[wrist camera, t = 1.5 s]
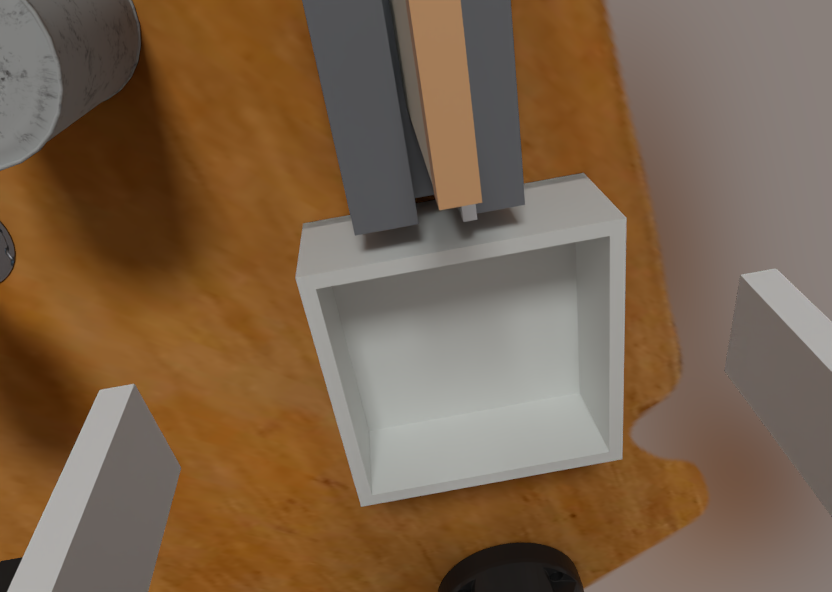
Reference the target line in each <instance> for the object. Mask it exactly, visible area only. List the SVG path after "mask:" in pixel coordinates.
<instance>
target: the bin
mask: <svg viewBox="0 0 832 592" xmlns="http://www.w3.org/2000/svg"><path fill="white" fill-rule="evenodd" d="M524 197H525V205H522V206H516V207H511V208H505V209H500V210H494V211H489V212H483V213H478V214H477V220H472V221H466V222H463V219H462V217H461V214H460V212H459V209H458V207H456V208H450V209H445V210H439V208H438V205H437V202H436V200H431V201H425V202H420V203H415V204H416V210H417V216H418V222H419V224H417V225H411V226H406V227H400V228H395V229H389V230H384V231H378V232H372V233H367V234H361V235H356V236H355V234H354V229H353V225H352V220H351V216H350V215H348V216H342V217H337V218H331V219H326V220H320V221H315V222H309V223H304V224H303V229H302V236H301V243H300V250H299V256H298V263H297V270H296V277H295V278H296V282H297V285H298V289H299V292H300V295H301V299H302V302H303V306H304V309H305V313H306V316H307V320H308V323H309V327H310V330H311V334H312V337H313V341H314V344H315V348H316V351H317V355H318V358H319V362H320V365H321V369H322V372H323V375H324V379H325V382H326V386H327V389H328V393H329V396H330V400H331V403H332V407H333V410H334V414H335V417H336V421H337V424H338V428H339V431H340V435H341V438H342V442H343V445H344V449H345V452H346V456H347V459H348V462H349V466H350V469H351V473H352V476H353V480H354V483H355V487H356V490H357V494H358V497H359V501H360V504H361V507H362V506H368V505H373V504H379V503H384V502H390V501H395V500H401V499H406V498H412V497H417V496H423V495H428V494H434V493H439V492H445V491H450V490H456V489H461V488H467V487H472V486H478V485H483V484H489V483H494V482H500V481H505V480H511V479H516V478H522V477H527V476H533V475H538V474H544V473H549V472H554V471H560V470H565V469H571V468H576V467H582V466H587V465H593V464H598V463H604V462H609V461H615V460H620V459H622V447H623V388H624V330H625V271H626V217H625V216H624V215H623V214H622V213H621V212H620V211H619V210H618V209H617V208H616V206H615V205H614V204H613V203H612V202H611V201H610V200H609V199H608V198H607V197H606V196H605V195H604V194H603V193H602V192H601V191H600V190H599V189H598V188H597V187H596V185H595V184H594V183H593V182H592V181H591V180H590V179H589V178H588V177H587V176H586V175H585V174H584V173H580V174H575V175H569V176H564V177H558V178H553V179H547V180H542V181H536V182H530V183H525V184H524Z"/></svg>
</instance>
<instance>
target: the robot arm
mask: <svg viewBox="0 0 832 592" xmlns="http://www.w3.org/2000/svg"><path fill="white" fill-rule="evenodd" d="M724 371H725V373H726V374H727V375H728V377H729V378H730V379H731V381H732V382H733V383H734V385H735V386H736V388H737V389H738V390H739V392H740V393H741V394H742V396H743V397H744V398H745V400H746V401H747V402H748V404H749V405H750V406H751V408H752V409H753V410H754V412H755V413H756V415H757V416H758V417H759V419H760V420H761V422H762V423H763V424H764V426H765V427H766V428H767V430H768V431H769V432H770V434H771V435H772V436H773V438H774V439H775V440H776V442H777V443H778V445H779V446H780V447H781V449H782V450H783V451H784V453H785V454H786V455H787V457H788V458H789V460H790V461H791V462H792V464H793V465H794V466H795V468H796V469H797V470H798V472H799V473H800V474H801V476H802V477H803V479H804V480H805V481H806V483H807V484H808V485H809V487H810V488H811V489H812V491H813V492H814V493H815V495H816V496H817V498H818V499H819V500H820V502H821V503H822V504H823V506H824V507H825V508H826V510H827V511H828V512H829V514H830V515H831V517H832V322H831V321H830V320H829V319H828V318H827V317H826V316H825V315H824V314H823V313H822V312H821V311H820V310H819V309H818V308H817V307H816V306H815V305H814V304H813V303H812V302H810V301H809V299H807V298H806V297H805V296H804V295H803V294H802V293H801V292H800V291H799V290H798V289H797V288H796V287H795V286H794V285H793V284H792V283H791V282H789V280H788V279H787V278H786V277H784V276H783V275H782V274H781V273H780V272H779V271H778V270H777V269H770V270H765V271H759V272H754V273H749V274H743V275H740V280H739V286H738V292H737V298H736V304H735V310H734V316H733V322H732V328H731V334H730V340H729V346H728V352H727V358H726V364H725V370H724ZM180 470H181V467H180V465H179V463H178V461H177V459H176V458H175V456H174V454H173V452H172V450H171V449H170V447H169V445H168V443H167V441H166V440H165V438H164V436H163V434H162V432H161V431H160V429H159V427H158V425H157V423H156V422H155V420H154V418H153V416H152V414H151V413H150V411H149V409H148V407H147V405H146V404H145V402H144V400H143V398H142V396H141V395H140V393H139V391H138V389H137V387H136V386H135V384H131V385H125V386H119V387H114V388H108V389H103V390H99V392H98V395H97V397H96V399H95V401H94V403H93V405H92V408H91V410H90V412H89V414H88V416H87V419H86V421H85V423H84V425H83V427H82V429H81V432H80V434H79V436H78V438H77V440H76V443H75V445H74V447H73V449H72V451H71V453H70V456H69V458H68V460H67V462H66V464H65V467H64V469H63V471H62V473H61V475H60V477H59V480H58V482H57V484H56V486H55V488H54V490H53V493H52V495H51V497H50V499H49V501H48V504H47V506H46V508H45V510H44V512H43V514H42V517H41V519H40V521H39V523H38V525H37V528H36V530H35V532H34V534H33V536H32V538H31V541H30V543H29V545H28V547H27V549H26V552H25V554H24V556H23V557H22V558H16V559H11V560H5V561H1V562H0V592H148V590H149V586H150V582H151V578H152V575H153V571H154V567H155V563H156V560H157V556H158V552H159V548H160V545H161V541H162V537H163V533H164V530H165V526H166V522H167V518H168V515H169V511H170V507H171V503H172V500H173V496H174V492H175V488H176V485H177V481H178V477H179V474H180ZM438 592H584V590H583V586H582V583H581V580H580V577H579V574H578V572H577V569H576V567H575V565H574V563H573V562H572V561H571V559H570V558H569V557H567V556H566V555H565V554H563V553H562V552H560V551H558V550H556V549H554V548H551V547H549V546H545V545H541V544H535V543H510V544H503V545H498V546H494V547H490V548H487V549H484V550H482V551H479V552H477V553H475V554H473V555H471V556H469V557H467V558H465V559H464V560H462V561H461V562H459V563H458V564H457V565H456V566H454V567H453V568H452V569H451V570H450V571H449V572H448V573H447V575H446V576H445V577H444V579H443V581H442V582H441V584H440V587H439V590H438Z"/></svg>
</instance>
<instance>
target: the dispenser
mask: <svg viewBox="0 0 832 592" xmlns="http://www.w3.org/2000/svg"><path fill="white" fill-rule="evenodd" d="M302 1H303V6H304V10H305V15H306V19H307V24H308V28H309V32H310V37H311V41H312V46H313V50H314V55H315V59H316V64H317V68H318V73H319V77H320V82H321V86H322V91H323V95H324V100H325V104H326V108H327V113H328V117H329V122H330V126H331V131H332V135H333V140H334V144H335V149H336V153H337V158H338V162H339V167H340V171H341V175H342V180H343V184H344V189H345V193H346V198H347V202H348V207H349V211H350V216H351V220H352V225H353V229H354V234H355V236H356V235H361V234H367V233H372V232H378V231H384V230H389V229H395V228H400V227H406V226H411V225H417V224H419V222H418V216H417V210H416V204H415V198H419V197H424V196H430V195H434V190H433V185H432V182H431V179H430V176H429V173H428V170H427V167H426V164H425V161H424V158H423V155H422V152H421V149H420V146H419V142H418V139H417V136H416V133H415V130H414V127H413V124H412V121H411V118H410V115H409V112H408V109H407V106H406V103H405V98H404V92H403V85H402V79H401V73H400V67H399V60H398V54H397V48H396V42H395V35H394V29H393V23H392V17H391V10H390V4H389V0H302ZM461 9H462V18H463V27H464V37H465V46H466V55H467V65H468V74H469V83H470V93H471V102H472V111H473V120H474V130H475V139H476V148H477V158H478V167H479V176H480V186H481V195H482V203H478V204H472V205H467V206H461V207H458V209H459V212H460V214H461V217H462V219H463V222H466V221H472V220H477V214H478V213H483V212H489V211H494V210H500V209H505V208H511V207H516V206H522V205H525V197H524V183H523V169H522V155H521V141H520V127H519V112H518V98H517V84H516V70H515V56H514V42H513V28H512V14H511V0H461Z"/></svg>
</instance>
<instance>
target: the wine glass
mask: <svg viewBox="0 0 832 592" xmlns="http://www.w3.org/2000/svg"><path fill="white" fill-rule="evenodd" d="M14 263H15V248H14V244H13V241H12V238H11V236H10V234H9V232H8V231H7V229H6V228H5V226H4V225H3V224H2V223H1V221H0V282H2V281H3V280H4V279H5V278H6V277H7V276H8V275H9V274H10V272H11V271H12V269H13V266H14Z"/></svg>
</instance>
